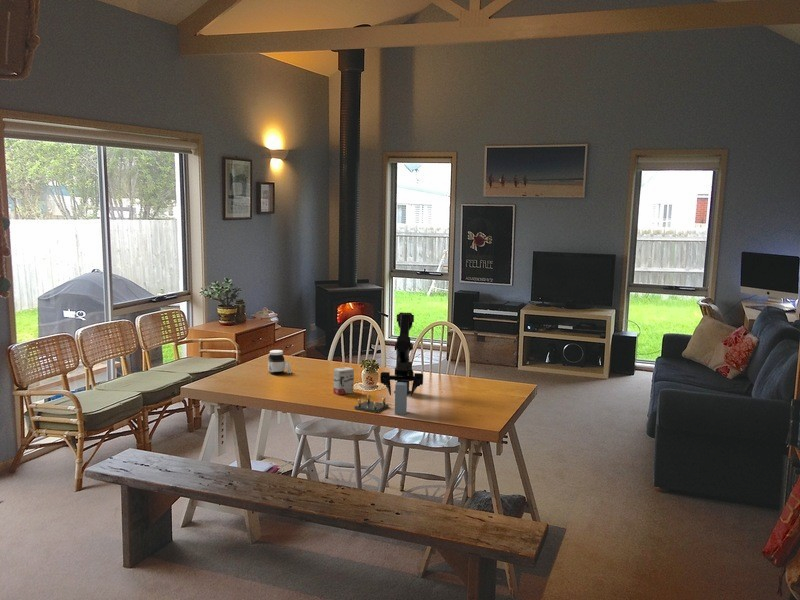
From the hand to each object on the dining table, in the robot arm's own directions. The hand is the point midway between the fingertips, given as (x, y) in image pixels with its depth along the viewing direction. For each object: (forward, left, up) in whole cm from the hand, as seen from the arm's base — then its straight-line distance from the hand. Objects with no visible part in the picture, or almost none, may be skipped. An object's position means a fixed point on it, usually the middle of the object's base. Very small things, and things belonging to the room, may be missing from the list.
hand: (401, 395), depth 301 cm
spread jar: (-20, -89, -8) cm, 92 cm away
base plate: (+2, -14, -8) cm, 16 cm away
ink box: (-10, -39, -8) cm, 41 cm away
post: (0, 0, -8) cm, 8 cm away
